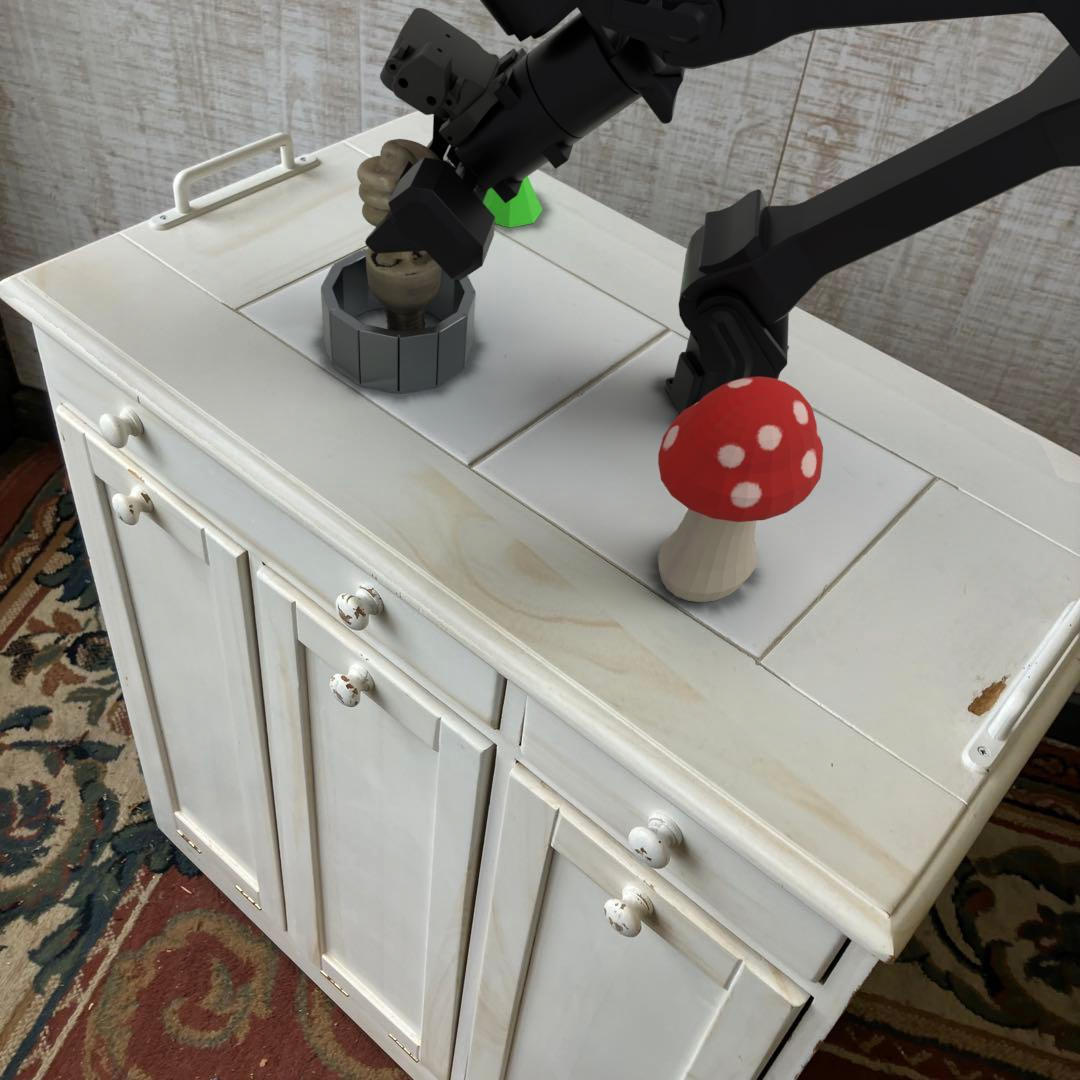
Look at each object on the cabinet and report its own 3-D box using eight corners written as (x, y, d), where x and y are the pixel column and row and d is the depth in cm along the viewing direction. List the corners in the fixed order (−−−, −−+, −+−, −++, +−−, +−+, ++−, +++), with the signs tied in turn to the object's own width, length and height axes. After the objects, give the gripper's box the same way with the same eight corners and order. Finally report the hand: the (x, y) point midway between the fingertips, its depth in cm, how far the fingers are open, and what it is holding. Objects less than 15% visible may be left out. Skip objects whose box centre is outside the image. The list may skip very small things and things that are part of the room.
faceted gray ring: (447, 293, 86) (449, 238, 82) (488, 380, 79) (493, 325, 76) (312, 311, 83) (308, 255, 79) (344, 402, 76) (341, 346, 72)
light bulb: (404, 370, 78) (402, 180, 66) (348, 337, 80) (337, 146, 68) (455, 335, 81) (462, 147, 70) (401, 303, 83) (398, 116, 72)
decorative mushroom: (719, 500, 74) (777, 320, 62) (805, 586, 69) (885, 410, 58) (601, 554, 69) (640, 373, 58) (686, 650, 65) (746, 474, 54)
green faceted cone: (543, 229, 93) (551, 165, 88) (473, 225, 92) (477, 160, 88) (541, 191, 97) (548, 128, 92) (473, 186, 96) (477, 123, 92)
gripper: (501, -80, 67) (337, 66, 76) (426, 50, 55) (240, 207, 63) (610, 67, 72) (445, 188, 81) (564, 216, 60) (375, 339, 69)
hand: (381, 224), depth 74 cm, fingers closed on light bulb, 5 cm apart
